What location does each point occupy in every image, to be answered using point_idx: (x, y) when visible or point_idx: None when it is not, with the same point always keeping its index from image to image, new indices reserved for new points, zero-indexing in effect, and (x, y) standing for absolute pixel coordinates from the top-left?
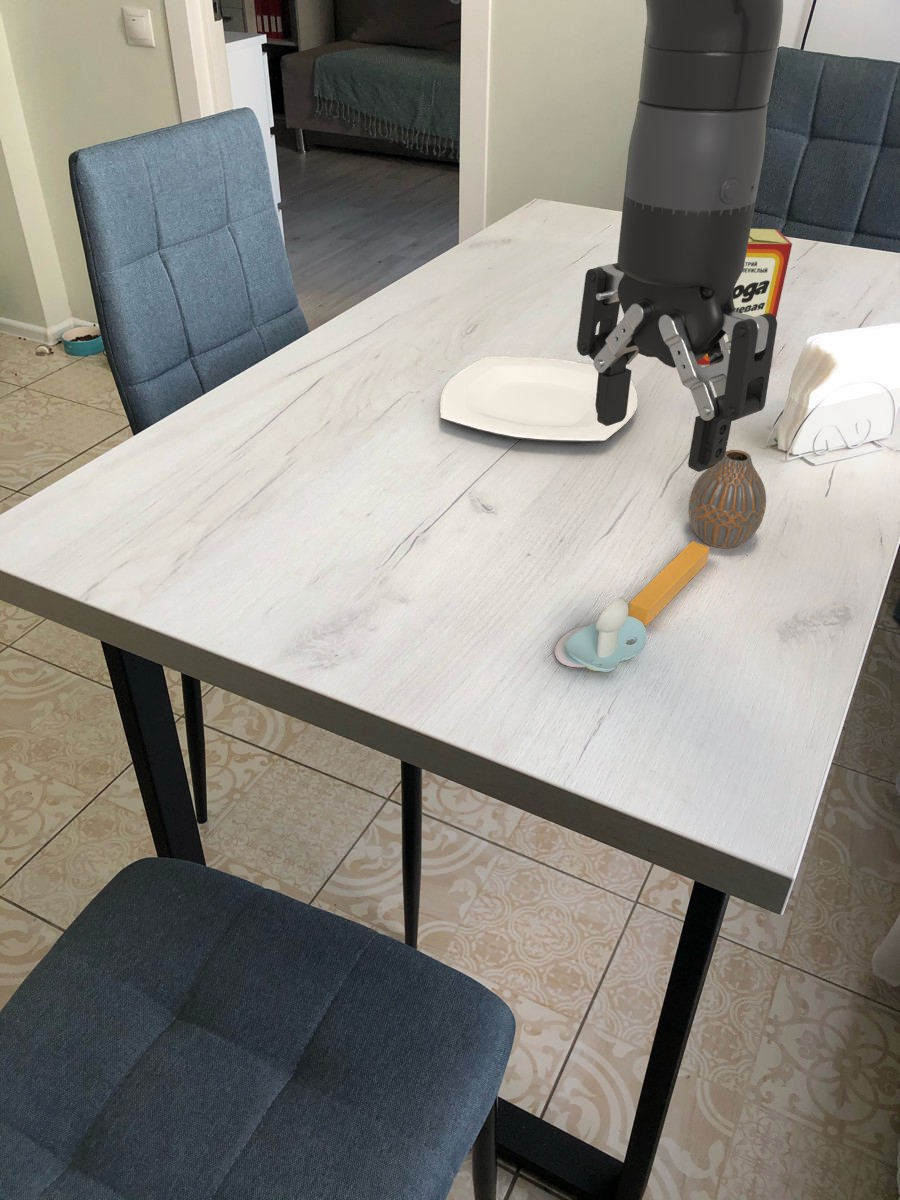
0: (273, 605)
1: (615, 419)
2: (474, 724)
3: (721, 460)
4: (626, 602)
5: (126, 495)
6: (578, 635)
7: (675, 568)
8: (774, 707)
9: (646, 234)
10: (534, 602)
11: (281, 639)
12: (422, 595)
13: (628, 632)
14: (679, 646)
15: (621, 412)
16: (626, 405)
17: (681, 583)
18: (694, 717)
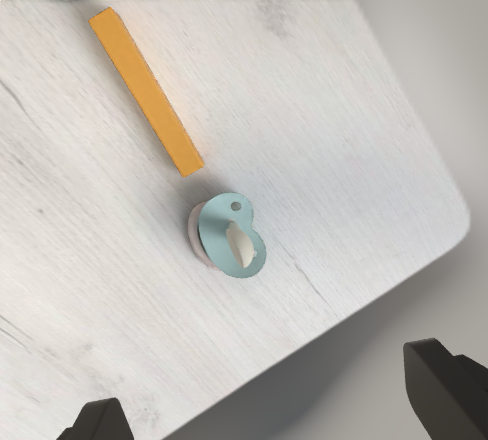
0: None
1: (123, 429)
2: (259, 350)
3: (463, 355)
4: (241, 239)
5: None
6: (207, 247)
7: (140, 86)
8: (356, 121)
9: None
10: (128, 244)
11: None
12: (84, 330)
13: (225, 204)
14: (244, 150)
15: (110, 425)
16: (99, 430)
17: (159, 88)
18: (331, 197)
